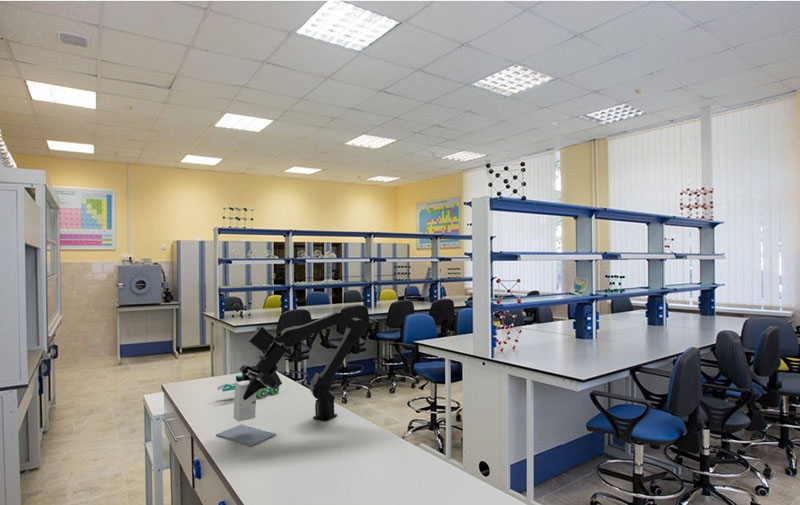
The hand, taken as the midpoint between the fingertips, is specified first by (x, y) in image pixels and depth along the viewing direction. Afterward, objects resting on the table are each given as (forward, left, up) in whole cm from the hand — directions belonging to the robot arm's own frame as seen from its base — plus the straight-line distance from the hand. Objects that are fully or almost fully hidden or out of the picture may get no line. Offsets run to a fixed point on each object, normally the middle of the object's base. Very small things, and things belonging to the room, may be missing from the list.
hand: (241, 398), depth 148 cm
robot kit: (+36, -31, -13) cm, 49 cm away
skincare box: (0, -1, -7) cm, 7 cm away
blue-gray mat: (-1, 0, -12) cm, 13 cm away
